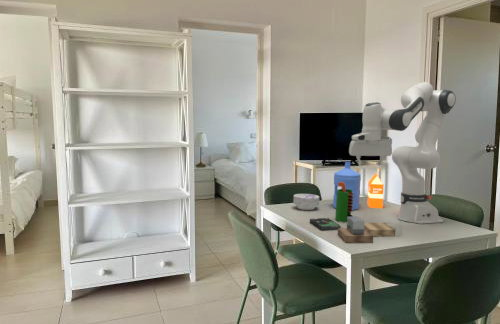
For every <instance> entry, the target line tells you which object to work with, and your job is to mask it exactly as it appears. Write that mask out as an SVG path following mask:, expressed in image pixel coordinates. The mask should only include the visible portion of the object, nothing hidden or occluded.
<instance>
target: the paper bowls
mask: <svg viewBox="0 0 500 324" xmlns="http://www.w3.org/2000/svg"><path fill="white" fill-rule="evenodd" d="M292 201H293V204H294V205H296V208H298V209H299V210H301V211H312V210H315V209H316V207H317V206H319V205H320V196H319V195H316V194H314V193H313V194H311V193H295V194H293V200H292Z"/></svg>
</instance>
